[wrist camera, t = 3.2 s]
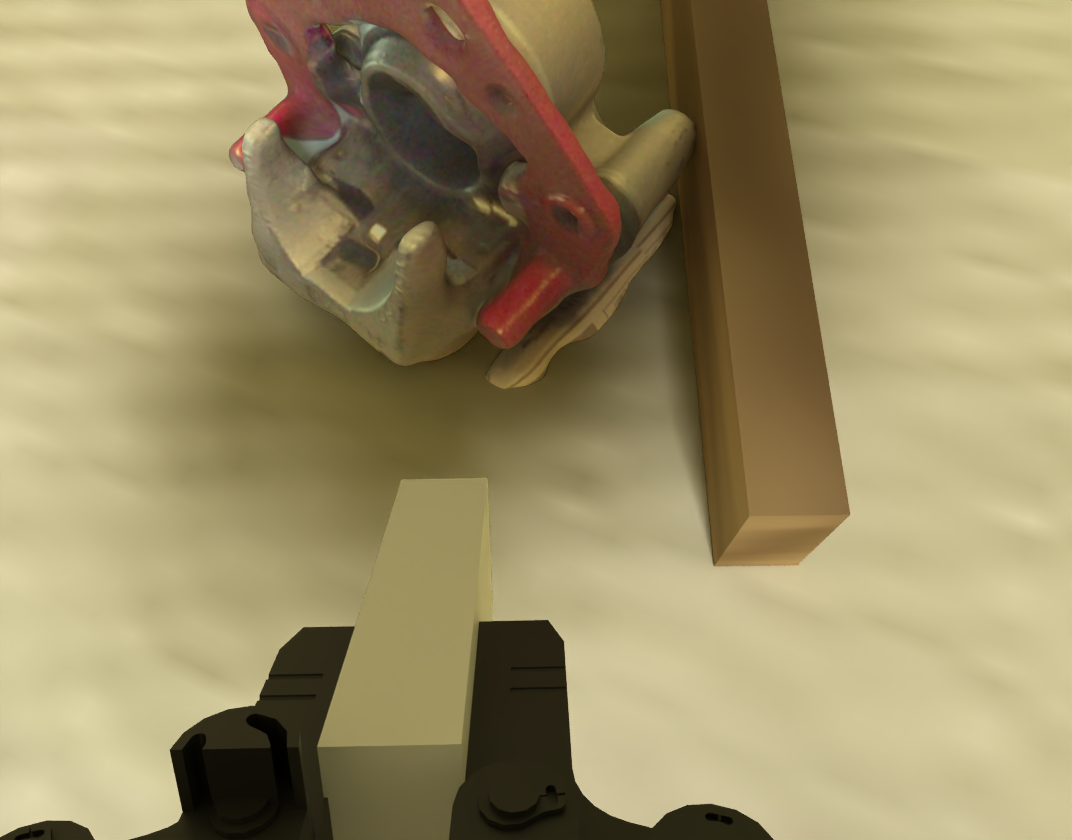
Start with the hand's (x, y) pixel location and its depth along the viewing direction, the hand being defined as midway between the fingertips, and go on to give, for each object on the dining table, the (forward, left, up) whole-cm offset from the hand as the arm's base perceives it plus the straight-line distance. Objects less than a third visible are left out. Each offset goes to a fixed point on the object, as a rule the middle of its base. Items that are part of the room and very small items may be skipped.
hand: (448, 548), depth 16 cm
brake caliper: (+1, -11, -6) cm, 13 cm away
